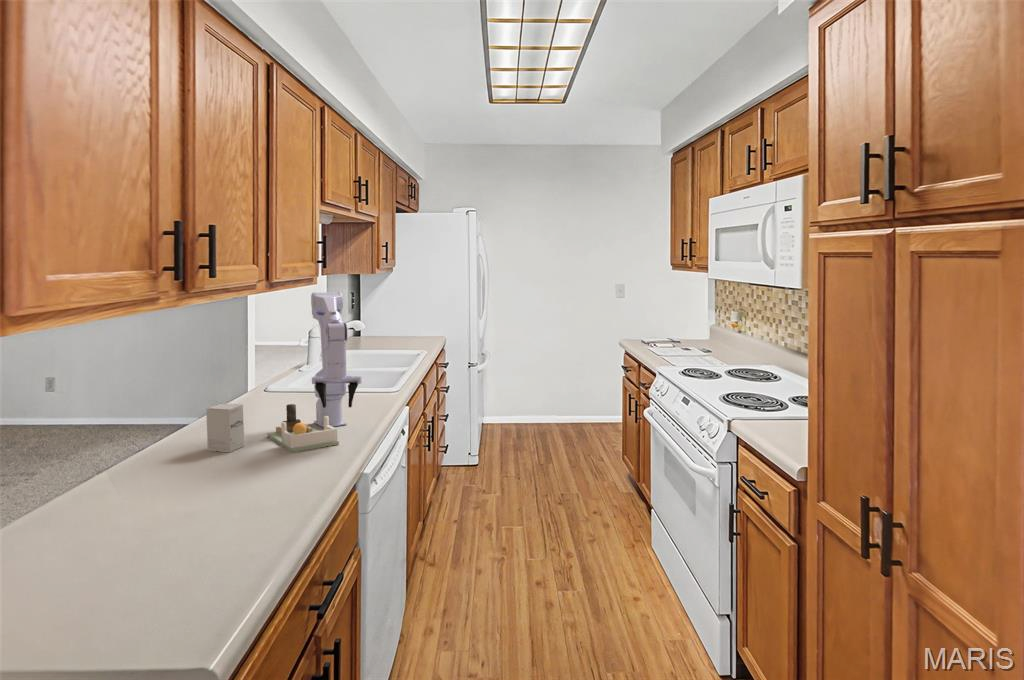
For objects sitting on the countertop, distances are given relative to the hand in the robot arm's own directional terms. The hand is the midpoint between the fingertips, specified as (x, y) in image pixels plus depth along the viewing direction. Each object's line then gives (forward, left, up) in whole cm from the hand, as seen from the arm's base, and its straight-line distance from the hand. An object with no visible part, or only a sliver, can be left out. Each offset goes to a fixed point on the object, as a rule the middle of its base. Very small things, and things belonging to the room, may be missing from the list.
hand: (337, 406), depth 208 cm
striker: (-14, -9, -9) cm, 19 cm away
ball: (-7, -9, -7) cm, 14 cm away
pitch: (-6, -9, -10) cm, 15 cm away
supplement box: (-9, -30, -10) cm, 33 cm away
